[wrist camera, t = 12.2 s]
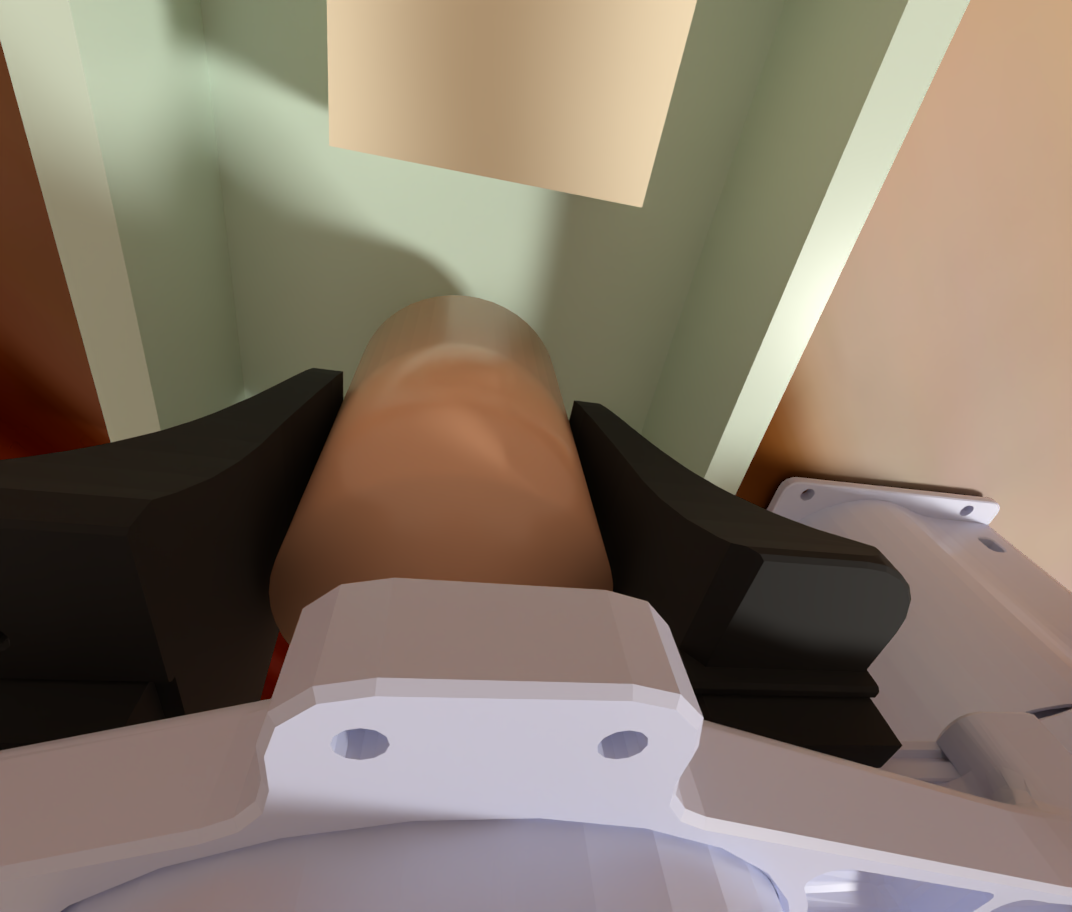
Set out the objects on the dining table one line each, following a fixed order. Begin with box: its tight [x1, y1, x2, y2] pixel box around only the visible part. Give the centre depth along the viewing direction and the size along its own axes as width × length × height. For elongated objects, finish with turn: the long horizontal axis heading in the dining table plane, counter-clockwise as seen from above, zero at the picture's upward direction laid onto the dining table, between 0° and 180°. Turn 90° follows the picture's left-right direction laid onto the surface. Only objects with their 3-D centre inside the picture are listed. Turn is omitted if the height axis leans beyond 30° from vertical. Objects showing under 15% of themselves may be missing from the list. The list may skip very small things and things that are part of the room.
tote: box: [0, 0, 970, 495], centre depth 12 cm, size 14×18×5 cm
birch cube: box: [327, 0, 697, 208], centre depth 9 cm, size 5×5×5 cm
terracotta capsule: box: [269, 295, 613, 645], centre depth 11 cm, size 5×5×7 cm
